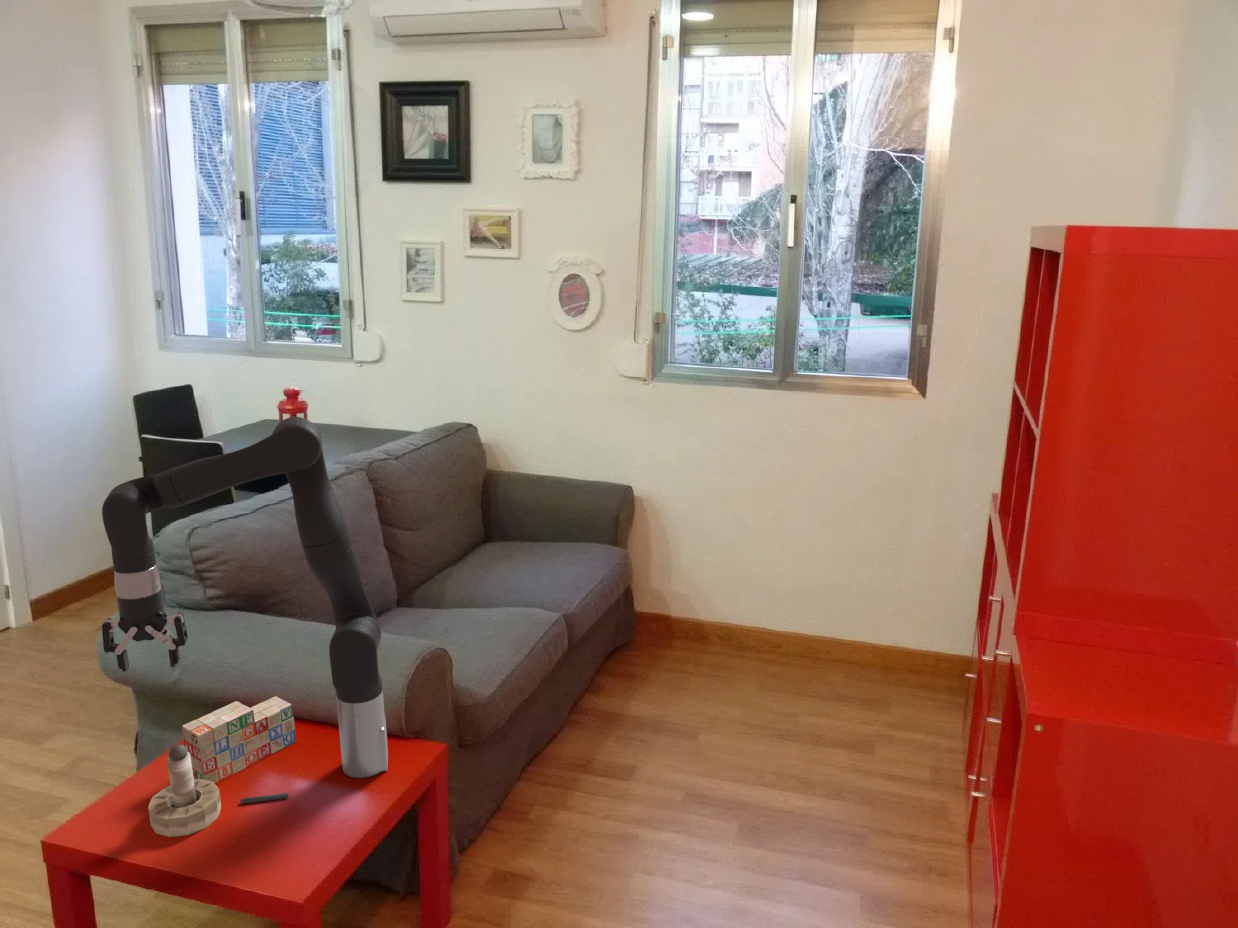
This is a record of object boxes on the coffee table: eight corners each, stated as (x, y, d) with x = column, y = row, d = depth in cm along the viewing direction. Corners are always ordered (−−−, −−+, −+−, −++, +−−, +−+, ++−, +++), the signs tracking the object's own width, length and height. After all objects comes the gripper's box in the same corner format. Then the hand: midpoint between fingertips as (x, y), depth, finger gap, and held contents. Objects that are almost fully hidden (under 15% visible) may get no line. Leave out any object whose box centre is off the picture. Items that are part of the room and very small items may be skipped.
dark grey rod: (288, 795, 186) (288, 791, 186) (288, 798, 185) (287, 794, 185) (241, 801, 185) (240, 797, 184) (240, 804, 184) (239, 800, 183)
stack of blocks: (280, 732, 209) (274, 683, 206) (296, 742, 205) (291, 691, 202) (188, 777, 192) (181, 724, 189) (204, 788, 189) (197, 735, 185)
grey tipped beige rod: (200, 808, 182) (190, 738, 178) (196, 820, 179) (186, 750, 175) (178, 811, 182) (168, 741, 178) (173, 823, 178) (162, 752, 174)
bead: (225, 793, 187) (223, 775, 186) (213, 831, 176) (211, 813, 175) (160, 801, 185) (158, 783, 183) (144, 840, 173) (141, 821, 172)
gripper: (184, 578, 180) (193, 654, 184) (103, 584, 177) (115, 662, 181) (175, 593, 173) (185, 673, 177) (90, 600, 170) (103, 680, 174)
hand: (150, 667), depth 179 cm, fingers open, 8 cm apart
